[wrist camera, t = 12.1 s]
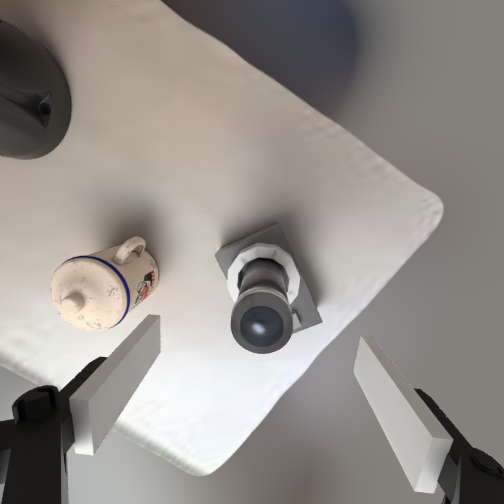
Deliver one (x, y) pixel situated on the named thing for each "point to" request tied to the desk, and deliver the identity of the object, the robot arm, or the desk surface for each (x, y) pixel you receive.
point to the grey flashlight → (262, 308)
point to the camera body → (276, 247)
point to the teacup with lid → (103, 285)
